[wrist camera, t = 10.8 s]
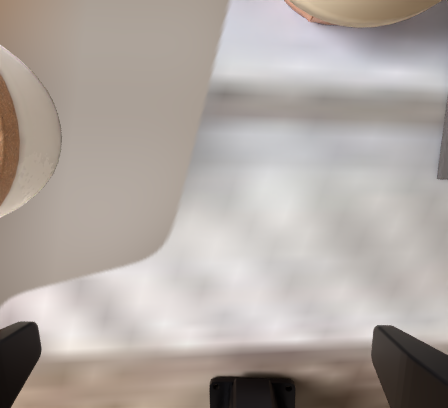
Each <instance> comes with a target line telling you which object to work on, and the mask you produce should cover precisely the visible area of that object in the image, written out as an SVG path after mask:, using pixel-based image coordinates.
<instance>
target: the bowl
mask: <svg viewBox="0 0 448 408" xmlns="http://www.w3.org/2000/svg"><path fill="white" fill-rule="evenodd" d="M284 1H285V2H286V3H287V4H288V5H289V6H290V7H291V8H292V9H293V10H294V11H295V12H297V13H298V14H299V15H301V16H302V17H304V18H306V19H307V20H308V21H309V22H316V23H320V24H325V25H336V24H332V23H328V22H325V21H322V20H320V19H318V18H315V17H313V16H311V15H309V14H307V13H306V12H304V11H302V10H301V9H299V8H298V7H296V6H295V5H294V4H292V3H291V2H290V1H289V0H284Z"/></svg>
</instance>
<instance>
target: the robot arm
mask: <svg viewBox="0 0 448 408" xmlns="http://www.w3.org/2000/svg"><path fill="white" fill-rule="evenodd" d="M40 355H41V342H40V336H39V330H38V325H37V324H36V323H35V322H17V323H15V324H12V325H10V326H7V327H5V328H3V329H0V408H11V406H12V405H13V403H14V401H15V399H16V398H17V396H18V394H19V392H20V391H21V389H22V387H23V386H24V384H25V382H26V380H27V379H28V377H29V375H30V373H31V372H32V370H33V368H34V367H35V365H36V363H37V361H38V360H39V357H40ZM371 357H372V362H373V365H374V367H375V370H376V373H377V375H378V378H379V380H380V383H381V385H382V388H383V390H384V393H385V395H386V398H387V400H388V403H389V405H390V408H448V355H446V354H445V353H443V352H441V351H439V350H437V349H435V348H433V347H431V346H430V345H428V344H426V343H424V342H422V341H420V340H418V339H416V338H415V337H413V336H411V335H409V334H407V333H405V332H403V331H402V330H400V329H398V328H396V327H394V326H391V325H377V326H376V327H375V328H374V331H373V341H372V351H371ZM215 384H217V385H218V386H215ZM287 386H290V387H287ZM210 408H295V385H294V382H293V381H292V380H291V379H267V378H213V379H211V381H210Z"/></svg>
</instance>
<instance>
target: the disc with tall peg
mask: <svg viewBox="0 0 448 408" xmlns="http://www.w3.org/2000/svg"><path fill="white" fill-rule="evenodd" d="M289 1H290V2H291V3H292V4H294V5H295V6H296V7H298V8H299V9H301V10H302V11H304V12H306V13H307V14H309V15H311V16H313V17H315V18H318V19H320V20H322V21H325V22H328V23H332V24H336V25H340V26H347V27H356V28H364V27H378V26H384V25H390V24H394V23H397V22H400V21H403V20H406V19H409V18H411V17H413V16H416V15H418V14H420V13H422V12H424V11H426V10H428V9H429V8H431V7H432V6H434V5H436V4H437V3H439V2H441V1H442V0H289Z"/></svg>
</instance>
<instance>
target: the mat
mask: <svg viewBox="0 0 448 408" xmlns="http://www.w3.org/2000/svg"><path fill="white" fill-rule="evenodd" d="M437 179H448V99H447V106H446V114H445V122H444V129H443V137H442V144H441V152H440V160H439V167H438V175H437Z"/></svg>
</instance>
